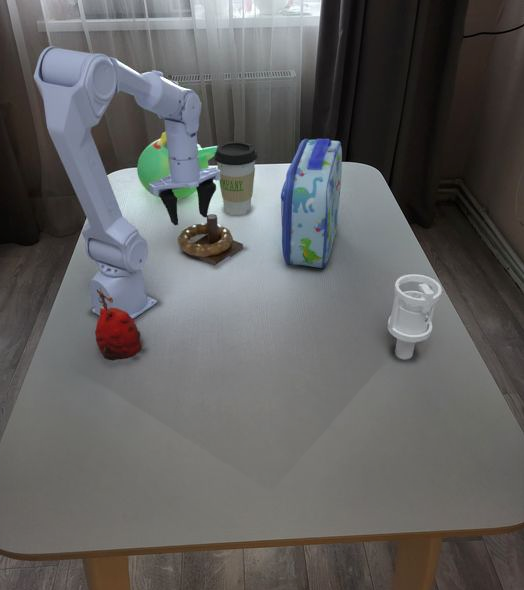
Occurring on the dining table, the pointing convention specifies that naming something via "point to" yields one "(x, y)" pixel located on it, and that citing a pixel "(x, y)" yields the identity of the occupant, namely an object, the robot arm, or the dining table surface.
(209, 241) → the post
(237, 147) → the coffee cup
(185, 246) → the ring
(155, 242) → the dining table surface
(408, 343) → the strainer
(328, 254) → the lunch box
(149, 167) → the toy bird
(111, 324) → the red rounded lump
